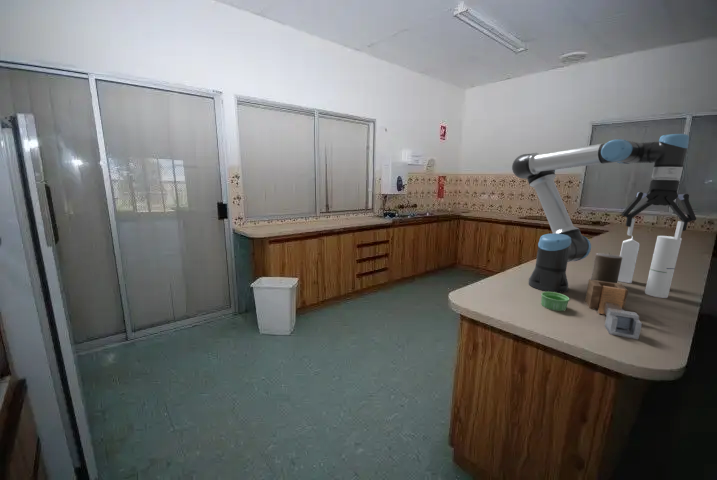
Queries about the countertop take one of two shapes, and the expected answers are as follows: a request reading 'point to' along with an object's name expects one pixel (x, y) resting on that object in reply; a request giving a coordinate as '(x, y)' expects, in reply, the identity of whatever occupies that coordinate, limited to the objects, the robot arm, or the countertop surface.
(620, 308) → the brown and grey block
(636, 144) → the robot arm
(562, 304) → the ramekin
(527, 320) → the countertop surface
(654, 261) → the cylindrical container
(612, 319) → the sleeve
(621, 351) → the countertop surface
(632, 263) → the milk
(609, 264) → the pillar candle
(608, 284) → the socket
